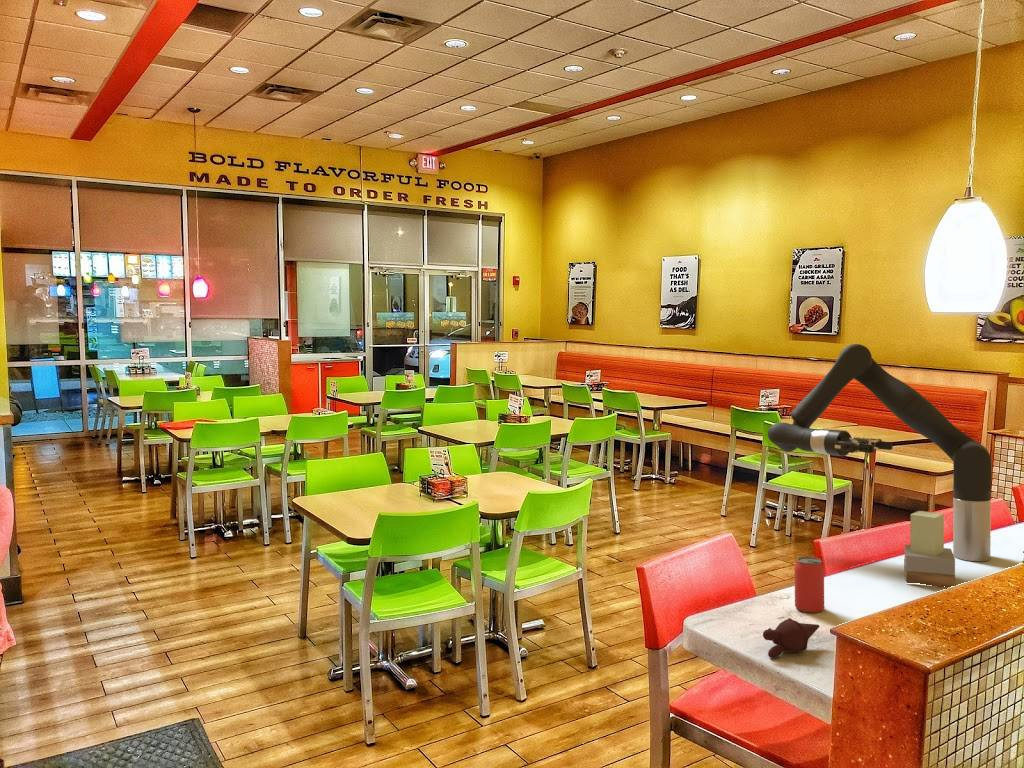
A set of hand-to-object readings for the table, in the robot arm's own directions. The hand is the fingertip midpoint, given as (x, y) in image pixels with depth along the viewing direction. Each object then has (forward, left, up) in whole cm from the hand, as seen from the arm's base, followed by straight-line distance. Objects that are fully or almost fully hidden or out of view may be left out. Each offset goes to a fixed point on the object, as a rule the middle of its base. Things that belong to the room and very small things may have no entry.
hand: (882, 447), depth 209 cm
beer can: (+40, -17, -34) cm, 55 cm away
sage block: (+7, +10, -26) cm, 29 cm away
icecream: (+67, -18, -34) cm, 78 cm away
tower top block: (+7, +11, -30) cm, 33 cm away
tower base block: (+7, +11, -34) cm, 37 cm away
